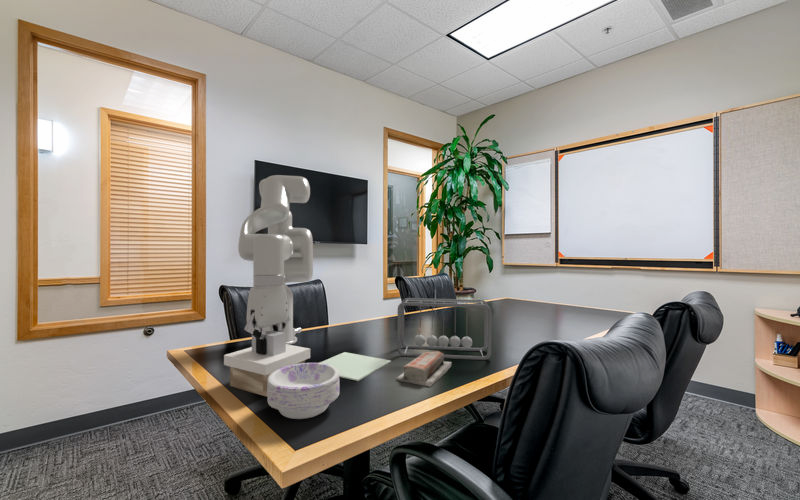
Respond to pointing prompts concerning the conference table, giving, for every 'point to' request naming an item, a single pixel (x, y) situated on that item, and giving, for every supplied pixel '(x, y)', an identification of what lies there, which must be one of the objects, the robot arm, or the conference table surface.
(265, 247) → the robot arm
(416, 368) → the packaged product
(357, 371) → the mat
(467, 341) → the newton's cradle
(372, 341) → the conference table surface
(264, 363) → the lid
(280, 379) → the paper bowls
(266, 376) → the box
